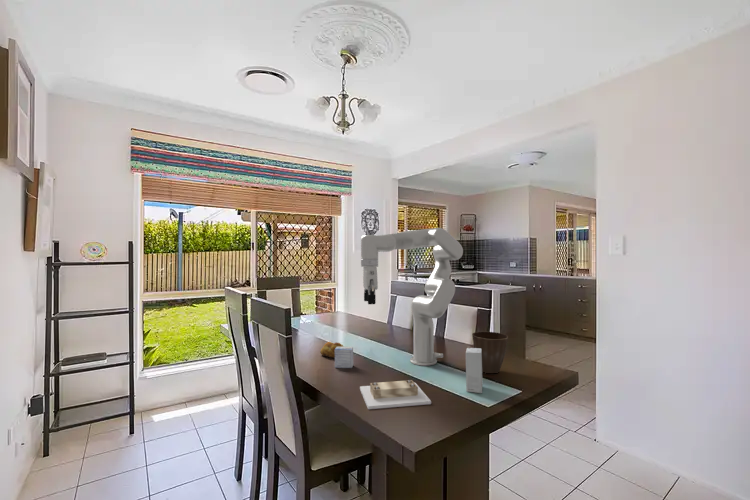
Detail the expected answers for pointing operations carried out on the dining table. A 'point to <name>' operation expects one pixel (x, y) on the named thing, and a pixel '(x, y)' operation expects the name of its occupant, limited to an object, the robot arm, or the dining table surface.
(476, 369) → the skincare box
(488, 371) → the plant pot
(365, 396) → the chassis plate
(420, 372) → the dining table surface
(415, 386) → the birch board
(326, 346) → the bread roll
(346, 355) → the medicine box
